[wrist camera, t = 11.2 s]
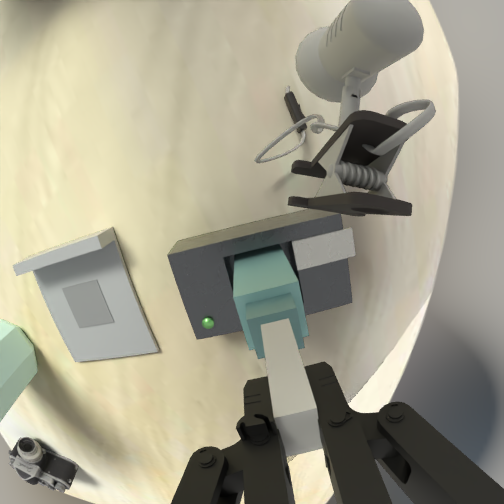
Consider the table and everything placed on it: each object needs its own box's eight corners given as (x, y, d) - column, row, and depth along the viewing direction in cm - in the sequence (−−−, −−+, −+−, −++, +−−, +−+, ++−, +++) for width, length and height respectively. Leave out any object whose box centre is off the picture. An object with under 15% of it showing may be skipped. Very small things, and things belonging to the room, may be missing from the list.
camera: (72, 449, 37) (55, 488, 27) (81, 470, 39) (68, 506, 30) (9, 420, 36) (-12, 452, 26) (21, 443, 38) (4, 474, 28)
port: (177, 240, 27) (166, 256, 23) (331, 203, 27) (349, 212, 22) (202, 315, 30) (196, 341, 25) (343, 281, 29) (360, 301, 25)
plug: (234, 250, 27) (232, 312, 16) (277, 240, 27) (305, 294, 16) (245, 289, 29) (250, 368, 17) (286, 279, 28) (315, 352, 17)
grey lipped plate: (30, 255, 27) (12, 265, 23) (112, 226, 27) (97, 235, 23) (77, 359, 31) (65, 376, 27) (159, 348, 31) (151, 368, 27)
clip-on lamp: (317, 197, 27) (437, 252, 10) (248, 187, 26) (271, 228, 9) (333, 77, 24) (449, -9, 6) (266, 64, 23) (309, -64, 6)
